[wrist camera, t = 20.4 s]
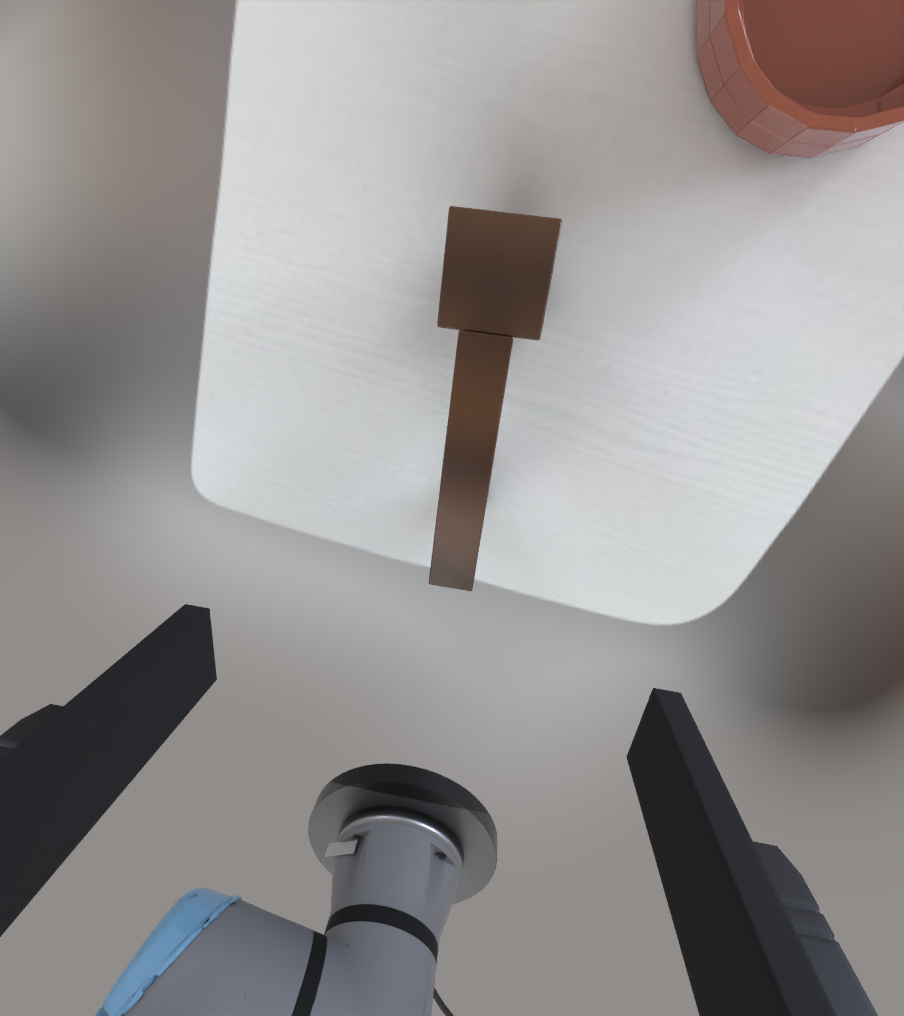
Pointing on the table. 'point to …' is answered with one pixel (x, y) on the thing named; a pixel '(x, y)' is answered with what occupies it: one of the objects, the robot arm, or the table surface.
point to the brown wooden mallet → (483, 361)
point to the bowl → (804, 70)
